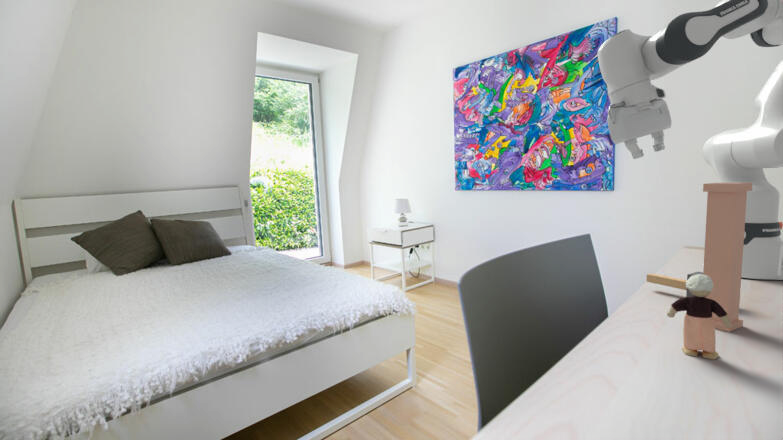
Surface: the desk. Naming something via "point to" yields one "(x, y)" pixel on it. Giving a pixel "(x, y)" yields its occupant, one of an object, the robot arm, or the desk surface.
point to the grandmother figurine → (699, 317)
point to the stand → (725, 246)
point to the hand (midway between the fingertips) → (649, 154)
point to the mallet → (671, 281)
